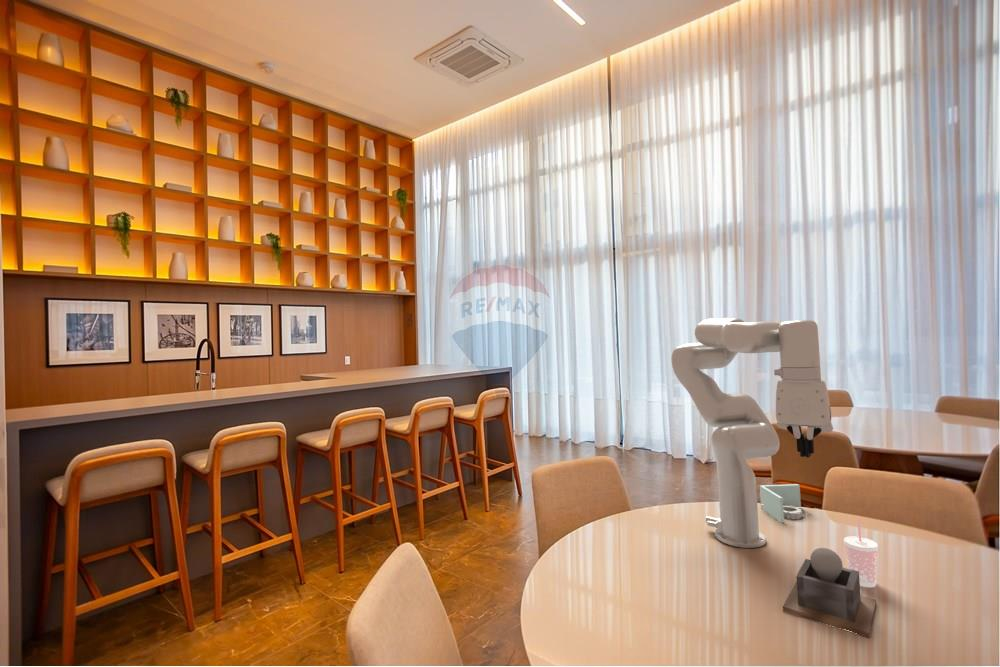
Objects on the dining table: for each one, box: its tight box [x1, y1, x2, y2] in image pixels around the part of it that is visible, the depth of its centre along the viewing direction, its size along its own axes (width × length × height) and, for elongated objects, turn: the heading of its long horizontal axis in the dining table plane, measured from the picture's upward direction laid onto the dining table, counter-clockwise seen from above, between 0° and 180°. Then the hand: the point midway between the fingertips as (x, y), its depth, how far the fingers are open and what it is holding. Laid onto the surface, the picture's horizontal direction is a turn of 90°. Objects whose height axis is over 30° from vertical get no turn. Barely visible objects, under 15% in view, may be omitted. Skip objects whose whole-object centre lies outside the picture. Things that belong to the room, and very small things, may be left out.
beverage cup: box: [843, 518, 879, 588], centre depth 106 cm, size 6×6×14 cm
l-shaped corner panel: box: [759, 483, 803, 524], centre depth 145 cm, size 12×12×8 cm
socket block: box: [782, 558, 877, 639], centre depth 97 cm, size 14×14×7 cm
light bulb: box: [809, 547, 844, 583], centre depth 97 cm, size 5×6×10 cm
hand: (805, 455), depth 106 cm, fingers closed
